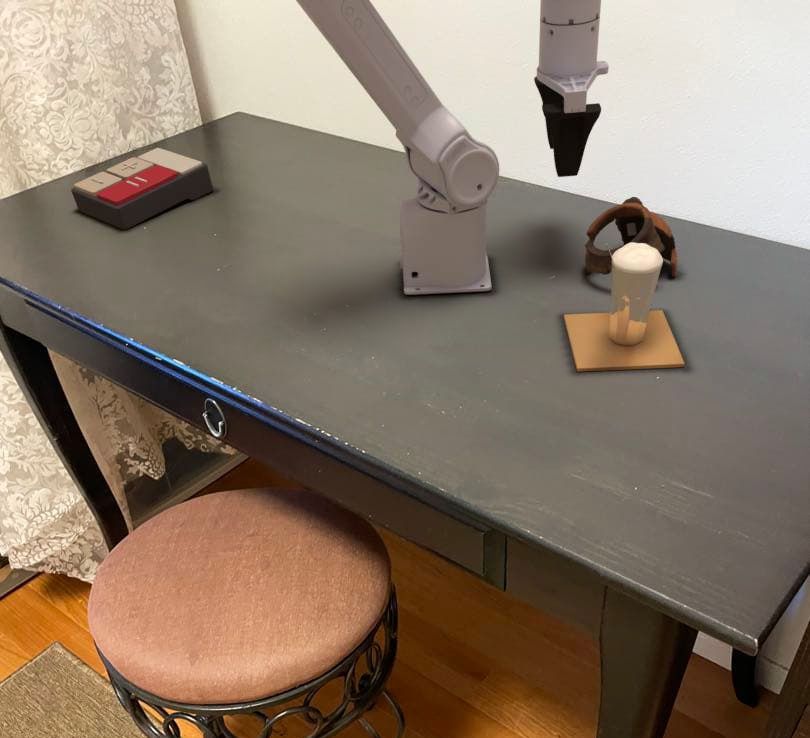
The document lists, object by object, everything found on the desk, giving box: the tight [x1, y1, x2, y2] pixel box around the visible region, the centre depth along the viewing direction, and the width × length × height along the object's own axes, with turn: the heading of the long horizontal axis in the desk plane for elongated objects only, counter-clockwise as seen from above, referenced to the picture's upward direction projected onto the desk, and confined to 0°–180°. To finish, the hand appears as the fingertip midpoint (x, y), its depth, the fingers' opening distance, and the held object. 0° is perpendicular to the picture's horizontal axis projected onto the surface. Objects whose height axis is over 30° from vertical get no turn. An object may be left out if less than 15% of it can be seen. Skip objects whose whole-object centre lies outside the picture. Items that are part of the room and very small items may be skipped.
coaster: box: [563, 309, 685, 372], centre depth 83 cm, size 10×10×1 cm
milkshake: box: [605, 241, 664, 346], centre depth 79 cm, size 4×5×10 cm
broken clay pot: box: [584, 196, 678, 278], centre depth 92 cm, size 12×10×8 cm
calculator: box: [70, 147, 214, 231], centre depth 114 cm, size 11×4×15 cm
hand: (563, 160), depth 91 cm, fingers open, 7 cm apart
